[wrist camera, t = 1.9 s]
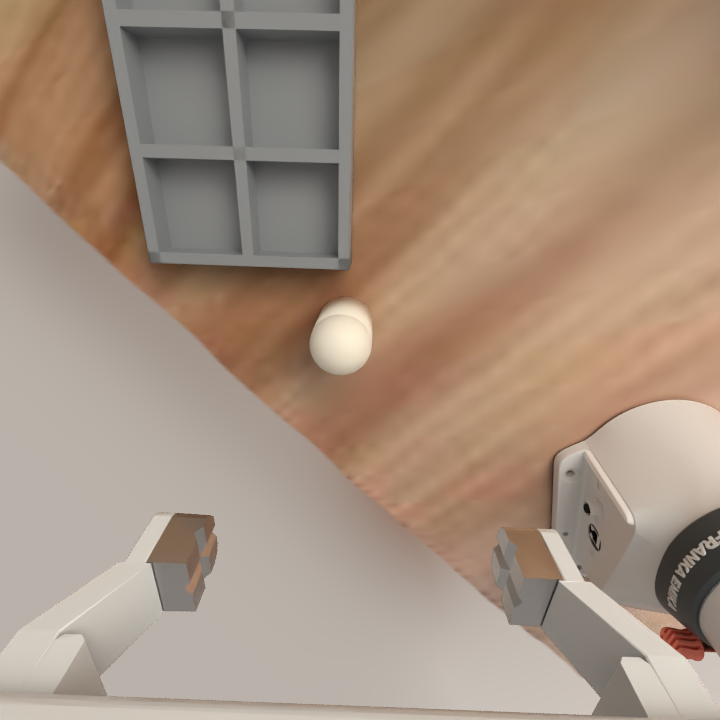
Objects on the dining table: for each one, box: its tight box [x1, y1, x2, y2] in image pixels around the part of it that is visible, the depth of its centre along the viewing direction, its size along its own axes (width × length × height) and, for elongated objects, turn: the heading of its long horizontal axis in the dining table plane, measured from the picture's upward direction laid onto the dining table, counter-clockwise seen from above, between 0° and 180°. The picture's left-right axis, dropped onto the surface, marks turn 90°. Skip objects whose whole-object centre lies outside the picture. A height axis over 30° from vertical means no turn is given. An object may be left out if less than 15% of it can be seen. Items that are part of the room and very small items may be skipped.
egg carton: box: [102, 0, 357, 270], centre depth 26 cm, size 22×15×3 cm
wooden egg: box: [310, 296, 373, 375], centre depth 31 cm, size 5×5×7 cm
